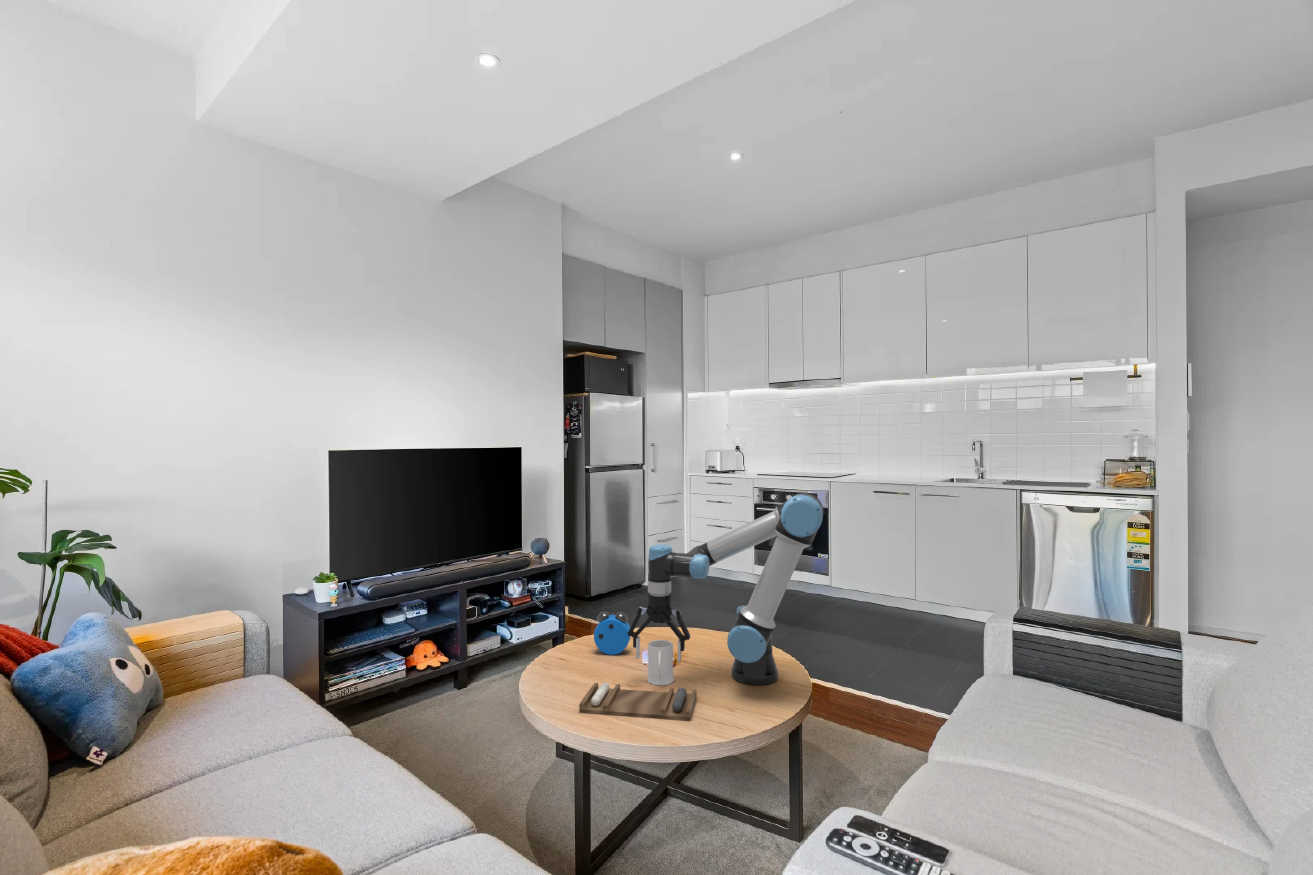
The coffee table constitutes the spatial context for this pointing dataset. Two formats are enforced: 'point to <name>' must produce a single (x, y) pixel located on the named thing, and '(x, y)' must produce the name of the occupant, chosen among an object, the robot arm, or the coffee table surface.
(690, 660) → the coffee table surface
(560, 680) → the coffee table surface
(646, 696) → the tray
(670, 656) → the mug
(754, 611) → the robot arm
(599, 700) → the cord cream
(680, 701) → the dark grey rounded rod
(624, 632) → the alarm clock
